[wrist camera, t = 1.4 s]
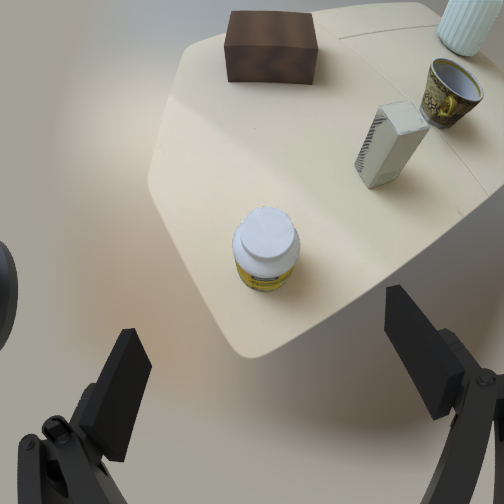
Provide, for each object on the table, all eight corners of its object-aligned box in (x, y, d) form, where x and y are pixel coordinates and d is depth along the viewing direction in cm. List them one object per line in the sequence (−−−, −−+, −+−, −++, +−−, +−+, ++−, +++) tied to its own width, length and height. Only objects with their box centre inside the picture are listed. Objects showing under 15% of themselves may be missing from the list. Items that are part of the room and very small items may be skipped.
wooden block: (227, 81, 47) (223, 45, 40) (234, 43, 51) (231, 10, 43) (312, 84, 47) (318, 49, 39) (307, 45, 50) (311, 13, 43)
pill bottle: (237, 292, 37) (227, 268, 26) (238, 240, 39) (229, 197, 28) (292, 292, 37) (306, 268, 26) (291, 240, 39) (303, 197, 28)
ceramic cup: (415, 86, 47) (434, 49, 38) (460, 113, 46) (483, 79, 36) (403, 128, 44) (425, 87, 35) (453, 158, 42) (483, 123, 33)
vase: (459, 62, 51) (494, -6, 30) (426, 33, 54) (452, -34, 33) (480, 59, 52) (513, 0, 31) (449, 32, 55) (475, -28, 34)
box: (380, 156, 42) (411, 98, 30) (395, 180, 41) (433, 126, 29) (351, 165, 42) (377, 104, 30) (366, 191, 41) (400, 134, 28)
